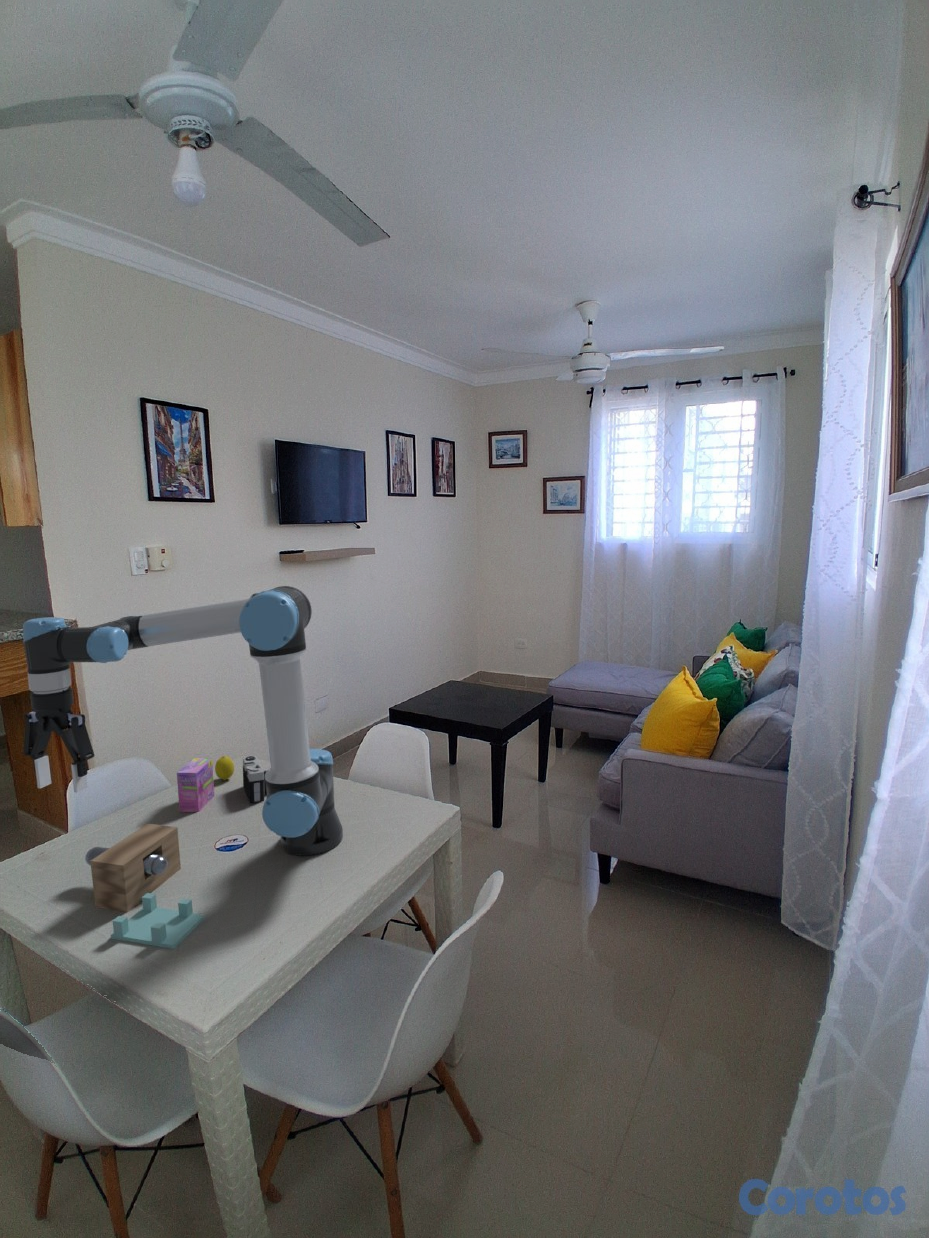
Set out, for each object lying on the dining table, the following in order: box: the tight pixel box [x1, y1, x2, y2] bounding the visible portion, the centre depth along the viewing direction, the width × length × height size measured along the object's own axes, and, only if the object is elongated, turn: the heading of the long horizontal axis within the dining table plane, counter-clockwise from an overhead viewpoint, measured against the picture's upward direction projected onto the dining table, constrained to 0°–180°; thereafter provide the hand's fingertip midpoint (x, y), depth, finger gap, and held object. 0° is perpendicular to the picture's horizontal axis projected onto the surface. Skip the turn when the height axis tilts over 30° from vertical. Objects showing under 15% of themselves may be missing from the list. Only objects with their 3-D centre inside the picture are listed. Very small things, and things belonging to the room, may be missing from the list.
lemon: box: [214, 755, 235, 781], centre depth 186 cm, size 6×6×8 cm
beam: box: [90, 823, 182, 913], centre depth 130 cm, size 8×16×10 cm, turn 167°
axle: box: [84, 846, 168, 875], centre depth 131 cm, size 20×4×4 cm, turn 77°
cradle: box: [110, 893, 206, 950], centre depth 117 cm, size 14×9×4 cm, turn 77°
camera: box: [242, 755, 269, 805], centre depth 176 cm, size 14×9×10 cm, turn 20°
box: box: [176, 757, 215, 813], centre depth 170 cm, size 10×6×12 cm, turn 179°
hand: (62, 787), depth 132 cm, fingers open, 9 cm apart
